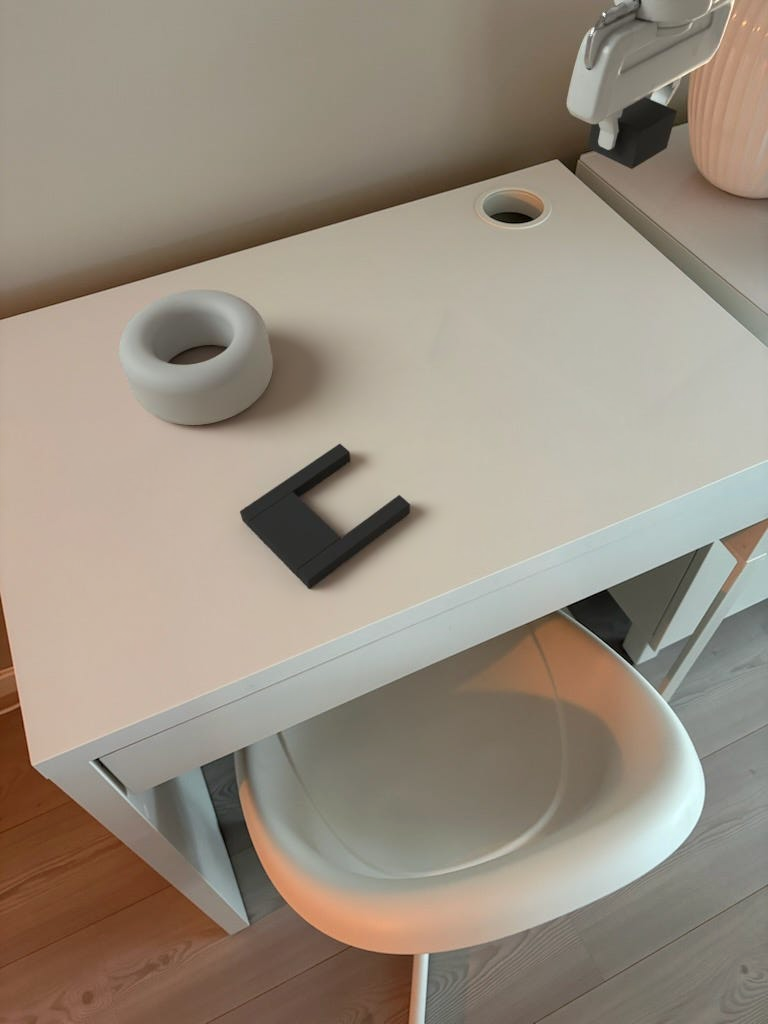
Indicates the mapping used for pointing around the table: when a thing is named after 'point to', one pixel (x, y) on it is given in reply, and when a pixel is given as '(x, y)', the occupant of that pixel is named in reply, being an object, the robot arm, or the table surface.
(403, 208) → the table surface
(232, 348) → the thick torus
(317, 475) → the base pad
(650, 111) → the black block
